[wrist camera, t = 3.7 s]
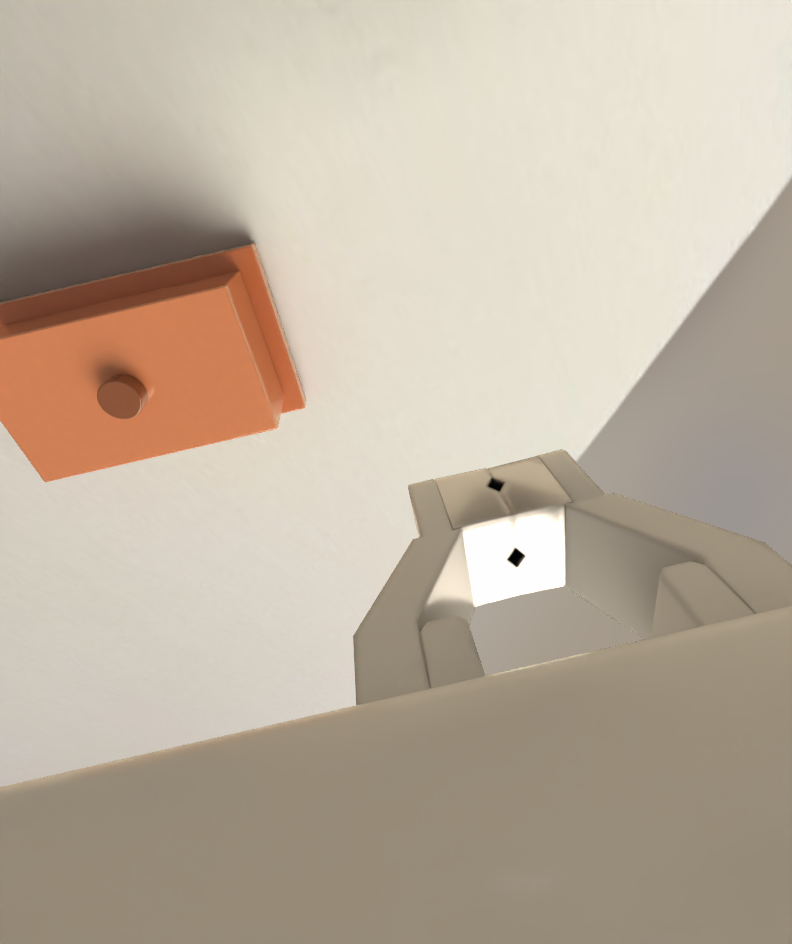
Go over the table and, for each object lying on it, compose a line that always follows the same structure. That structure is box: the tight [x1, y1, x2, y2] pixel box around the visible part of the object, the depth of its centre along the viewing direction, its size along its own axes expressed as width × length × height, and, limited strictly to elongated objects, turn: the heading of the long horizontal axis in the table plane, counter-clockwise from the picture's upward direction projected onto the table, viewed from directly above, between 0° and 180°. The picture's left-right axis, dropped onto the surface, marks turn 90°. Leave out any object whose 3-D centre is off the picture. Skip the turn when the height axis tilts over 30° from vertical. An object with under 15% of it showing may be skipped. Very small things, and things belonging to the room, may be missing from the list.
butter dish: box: [0, 243, 306, 482], centre depth 21 cm, size 12×8×5 cm, turn 101°
